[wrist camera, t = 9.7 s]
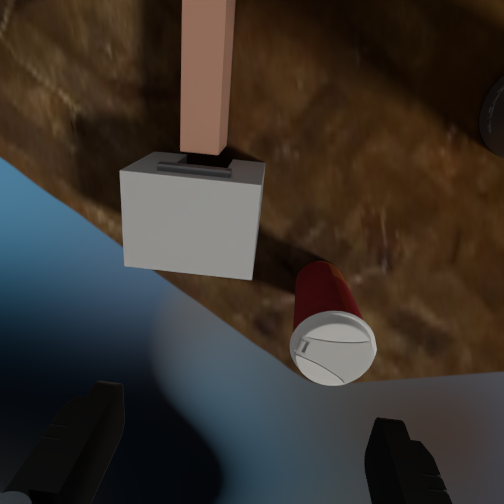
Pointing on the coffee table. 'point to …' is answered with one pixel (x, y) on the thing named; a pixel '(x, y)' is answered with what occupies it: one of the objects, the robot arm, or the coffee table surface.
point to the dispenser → (191, 215)
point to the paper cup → (329, 328)
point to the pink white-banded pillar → (206, 74)
